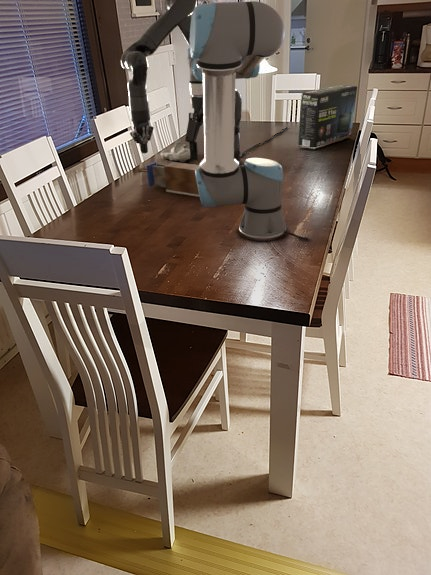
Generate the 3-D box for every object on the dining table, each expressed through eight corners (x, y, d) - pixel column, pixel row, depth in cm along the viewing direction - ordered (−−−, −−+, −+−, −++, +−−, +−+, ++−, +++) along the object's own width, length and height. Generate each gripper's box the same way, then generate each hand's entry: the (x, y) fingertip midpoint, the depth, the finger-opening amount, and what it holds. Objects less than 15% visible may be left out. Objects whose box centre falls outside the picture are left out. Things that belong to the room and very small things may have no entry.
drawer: (137, 184, 194) (135, 163, 189) (145, 180, 198) (142, 160, 193) (188, 192, 183) (187, 170, 178) (195, 188, 187) (194, 167, 182)
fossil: (184, 156, 217) (163, 136, 220) (174, 174, 223) (154, 154, 227) (205, 153, 231) (186, 134, 234) (195, 171, 237) (176, 152, 240)
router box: (314, 151, 231) (318, 94, 217) (296, 148, 237) (299, 92, 224) (352, 138, 251) (358, 85, 238) (335, 135, 258) (340, 83, 245)
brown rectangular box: (166, 191, 187) (163, 166, 182) (174, 186, 192) (172, 161, 187) (210, 198, 178) (209, 172, 173) (218, 193, 183) (217, 167, 178)
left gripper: (142, 104, 185) (146, 148, 194) (121, 110, 175) (127, 156, 184) (157, 105, 182) (161, 149, 191) (136, 111, 172) (142, 158, 181)
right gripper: (209, 89, 174) (211, 146, 185) (172, 100, 156) (177, 162, 167) (226, 90, 171) (227, 148, 182) (191, 101, 153) (194, 165, 164)
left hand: (144, 152), depth 188 cm, fingers closed
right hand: (203, 155), depth 174 cm, fingers open, 13 cm apart
